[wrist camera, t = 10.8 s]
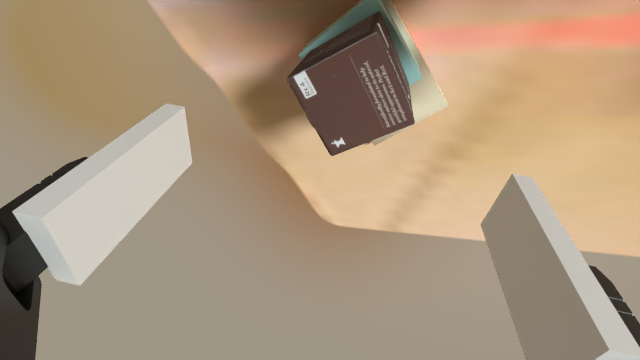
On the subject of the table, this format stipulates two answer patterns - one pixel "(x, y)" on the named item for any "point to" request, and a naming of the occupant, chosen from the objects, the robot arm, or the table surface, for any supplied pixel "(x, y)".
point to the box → (354, 87)
